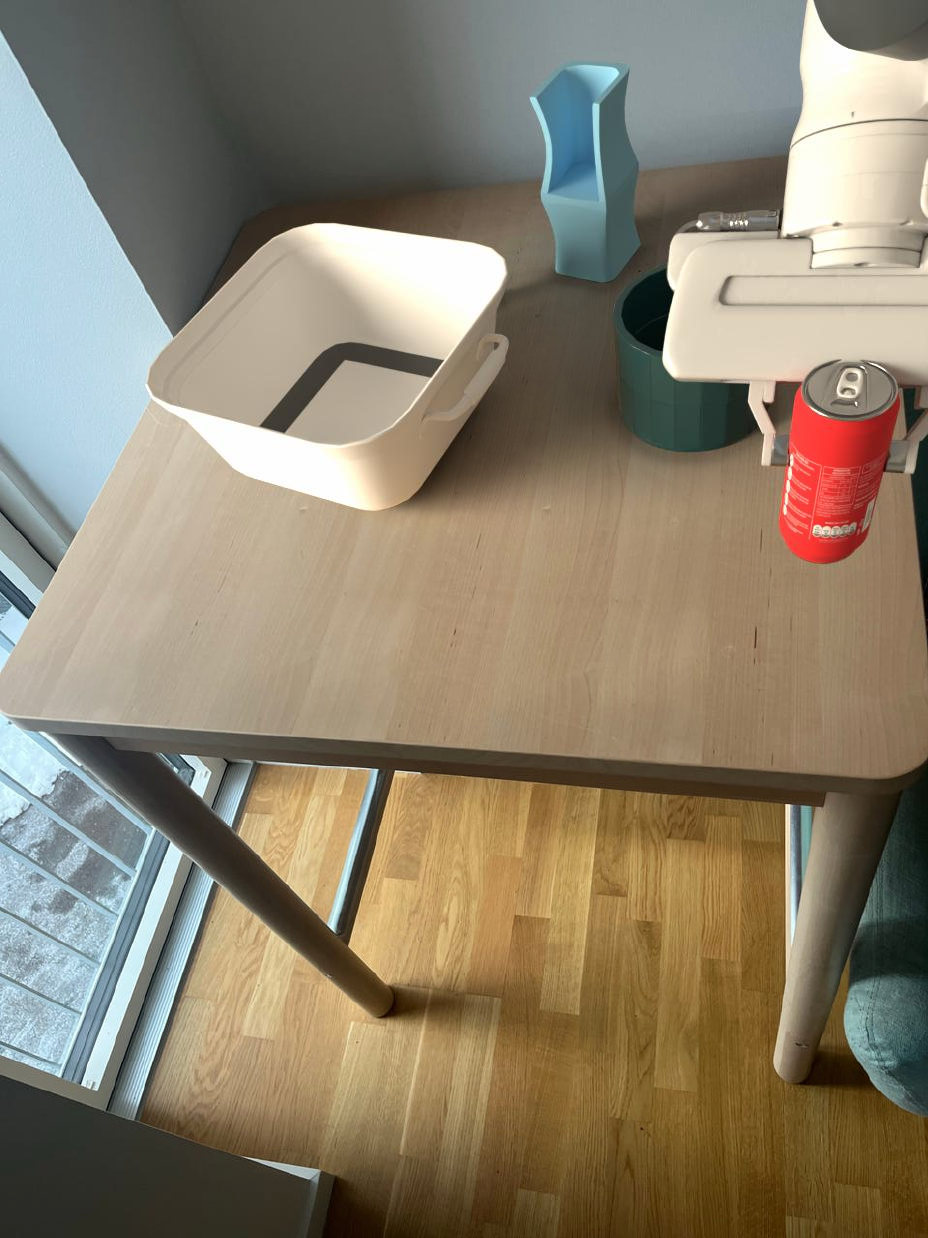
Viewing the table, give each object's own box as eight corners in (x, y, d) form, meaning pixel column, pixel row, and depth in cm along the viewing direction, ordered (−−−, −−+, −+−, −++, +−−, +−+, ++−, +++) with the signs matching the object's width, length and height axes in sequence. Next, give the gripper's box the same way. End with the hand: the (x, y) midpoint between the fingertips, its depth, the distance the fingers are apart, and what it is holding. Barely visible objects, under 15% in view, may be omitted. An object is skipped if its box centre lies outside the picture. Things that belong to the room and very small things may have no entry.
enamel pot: (773, 350, 92) (783, 253, 83) (767, 454, 84) (778, 359, 76) (628, 351, 96) (623, 259, 87) (610, 450, 88) (603, 360, 80)
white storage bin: (571, 378, 95) (557, 253, 84) (442, 582, 83) (404, 468, 71) (312, 326, 109) (269, 213, 98) (168, 494, 97) (98, 387, 85)
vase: (550, 272, 107) (528, 97, 91) (581, 233, 110) (565, 58, 94) (611, 284, 103) (599, 104, 87) (641, 244, 107) (635, 63, 91)
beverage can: (769, 560, 56) (787, 416, 47) (786, 499, 59) (806, 350, 49) (858, 576, 55) (895, 428, 45) (871, 512, 57) (910, 359, 47)
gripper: (665, 198, 49) (642, 459, 51) (1108, 184, 42) (1056, 482, 45) (677, 225, 55) (656, 458, 57) (1068, 217, 48) (1023, 479, 51)
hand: (835, 469), depth 51 cm, fingers closed on beverage can, 5 cm apart
